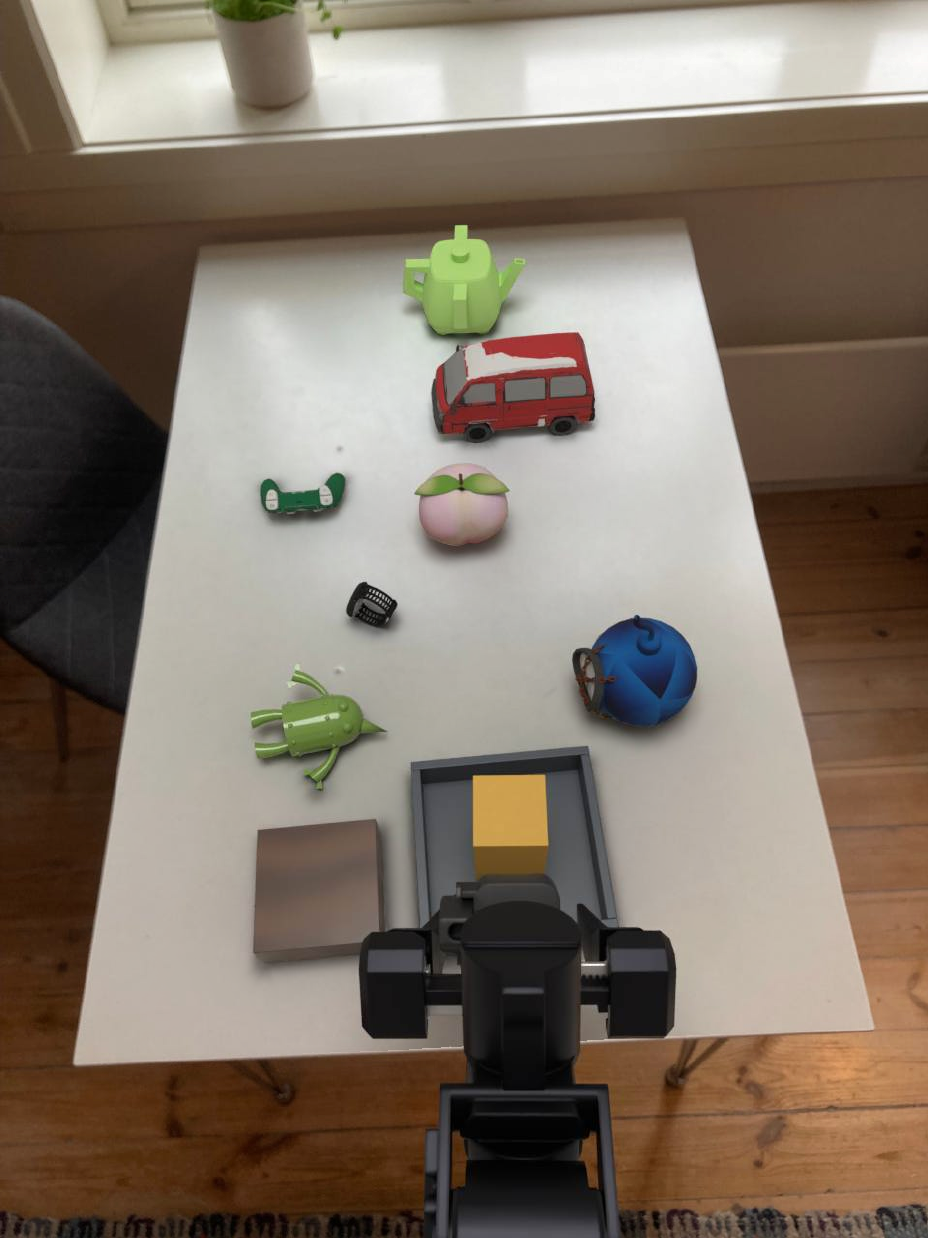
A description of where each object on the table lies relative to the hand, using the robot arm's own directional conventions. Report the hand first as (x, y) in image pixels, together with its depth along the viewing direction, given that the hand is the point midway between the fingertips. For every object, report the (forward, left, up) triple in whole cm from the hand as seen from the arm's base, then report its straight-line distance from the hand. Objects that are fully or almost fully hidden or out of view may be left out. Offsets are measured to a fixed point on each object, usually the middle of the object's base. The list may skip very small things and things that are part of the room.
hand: (513, 909), depth 63 cm
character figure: (+21, +15, -14) cm, 29 cm away
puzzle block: (+8, -1, -13) cm, 15 cm away
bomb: (+22, -14, -14) cm, 29 cm away
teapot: (+77, -3, -14) cm, 78 cm away
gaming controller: (+49, +17, -14) cm, 54 cm away
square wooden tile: (+6, +15, -13) cm, 21 cm away
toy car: (+59, -7, -14) cm, 61 cm away
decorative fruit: (+43, 0, -14) cm, 45 cm away
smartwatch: (+33, +10, -14) cm, 37 cm away
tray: (+8, -1, -13) cm, 16 cm away
